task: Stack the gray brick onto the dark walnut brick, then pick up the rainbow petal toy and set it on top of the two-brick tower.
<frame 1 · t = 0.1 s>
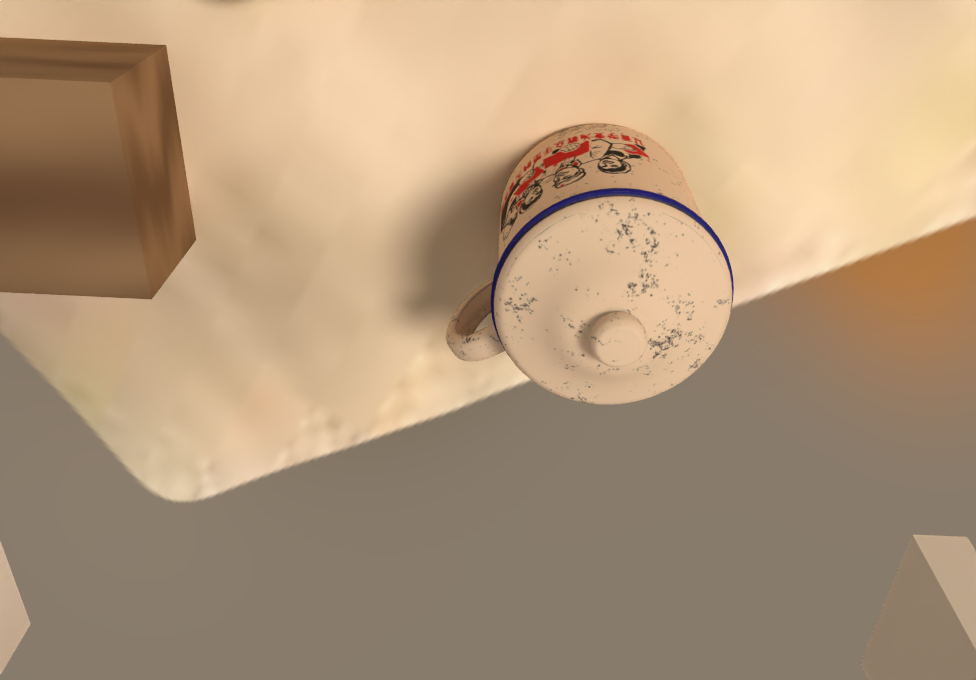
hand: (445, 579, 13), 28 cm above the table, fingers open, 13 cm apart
teacup with lid: (565, 225, 40), on the table
walnut brick: (83, 142, 39), on the table
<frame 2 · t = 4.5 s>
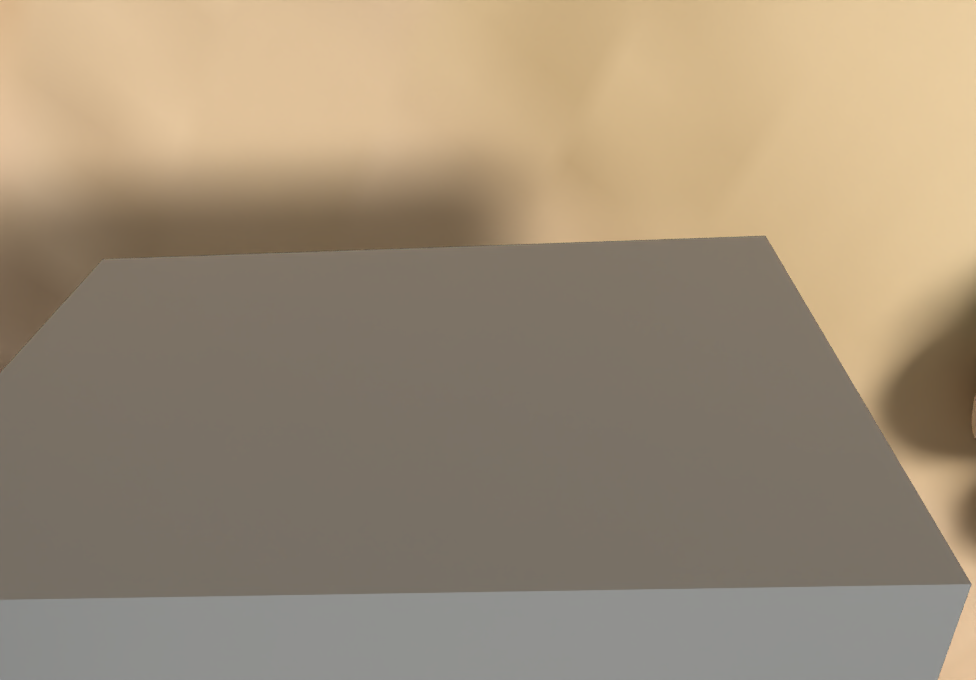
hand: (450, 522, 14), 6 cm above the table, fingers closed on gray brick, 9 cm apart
gray brick: (452, 497, 14), point 5 cm above the table, touching gripper
when the fingers open (6 cm above the table, at t = 8.0 s): gray brick stays where it is, resting on walnut brick.
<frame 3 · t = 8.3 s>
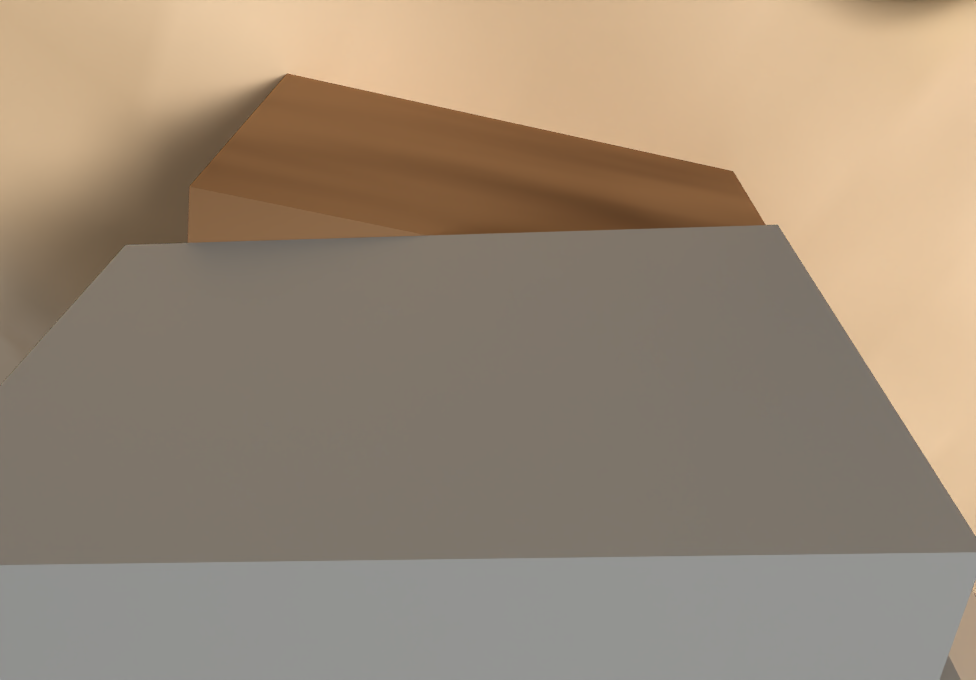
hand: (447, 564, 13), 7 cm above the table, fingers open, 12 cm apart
walnut brick: (470, 312, 19), on the table, touching gray brick
gray brick: (465, 484, 14), point 6 cm above the table, touching walnut brick
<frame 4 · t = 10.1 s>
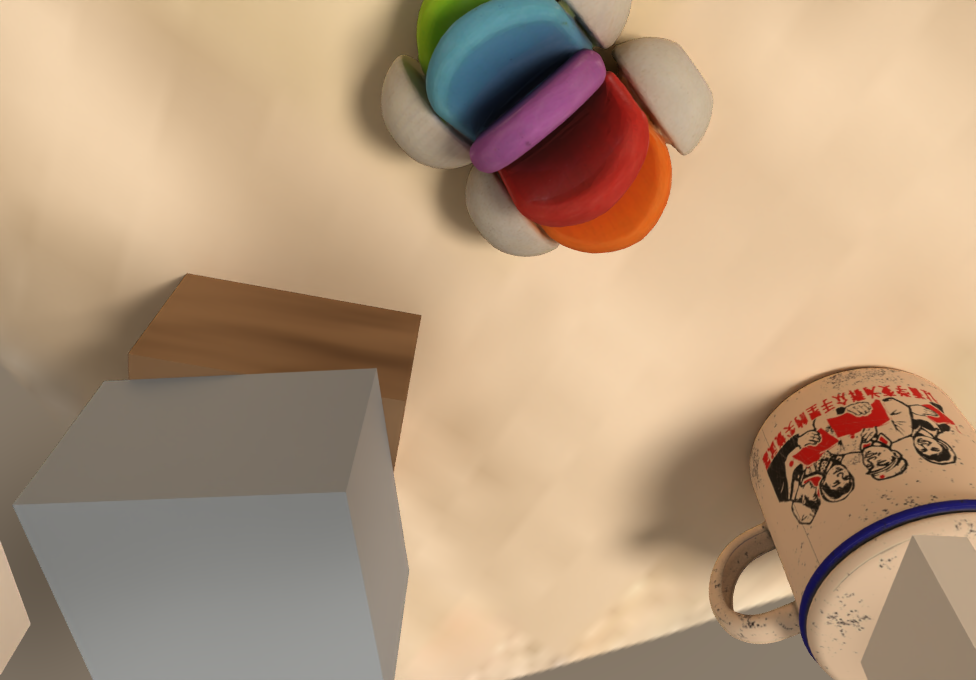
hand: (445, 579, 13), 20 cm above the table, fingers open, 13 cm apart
teacup with lid: (816, 460, 37), on the table
walnut brick: (297, 387, 35), on the table
rainbow petal toy: (542, 84, 29), on the table
gray brick: (266, 482, 30), point 6 cm above the table
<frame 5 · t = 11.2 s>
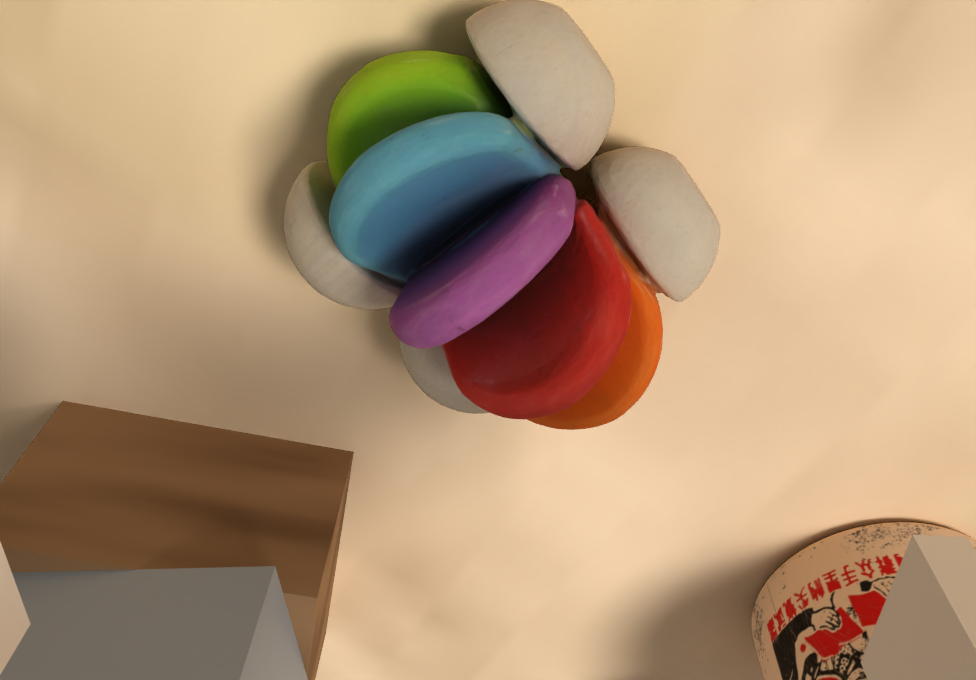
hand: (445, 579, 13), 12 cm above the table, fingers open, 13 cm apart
teacup with lid: (831, 613, 31), on the table
walnut brick: (208, 524, 29), on the table
rainbow petal toy: (501, 190, 22), on the table
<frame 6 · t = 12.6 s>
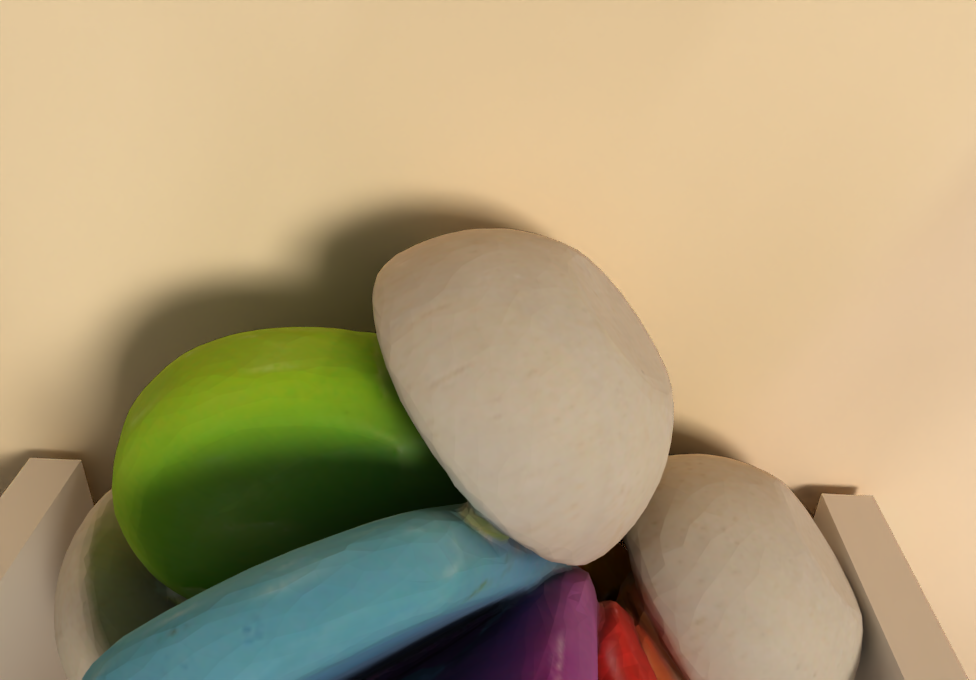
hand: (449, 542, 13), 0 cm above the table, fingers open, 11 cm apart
rainbow petal toy: (464, 485, 13), on the table
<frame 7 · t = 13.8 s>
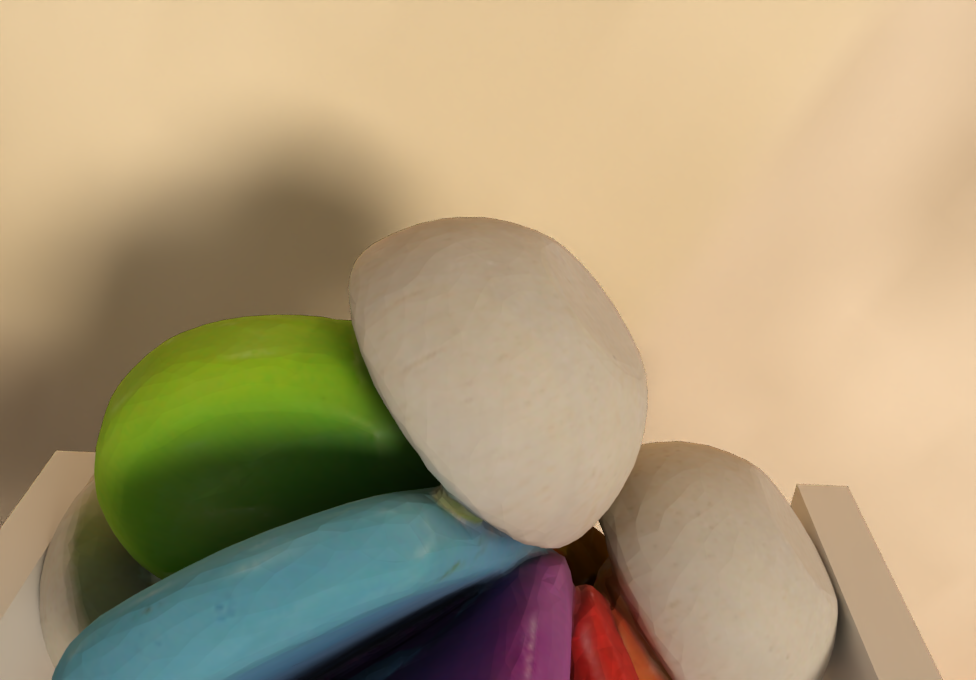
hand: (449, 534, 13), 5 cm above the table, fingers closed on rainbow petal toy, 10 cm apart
rainbow petal toy: (448, 474, 13), point 5 cm above the table, touching gripper
when the fingers open (13 cm above the table, at t = 18.8 s): rainbow petal toy drops 1 cm, resting on gray brick.
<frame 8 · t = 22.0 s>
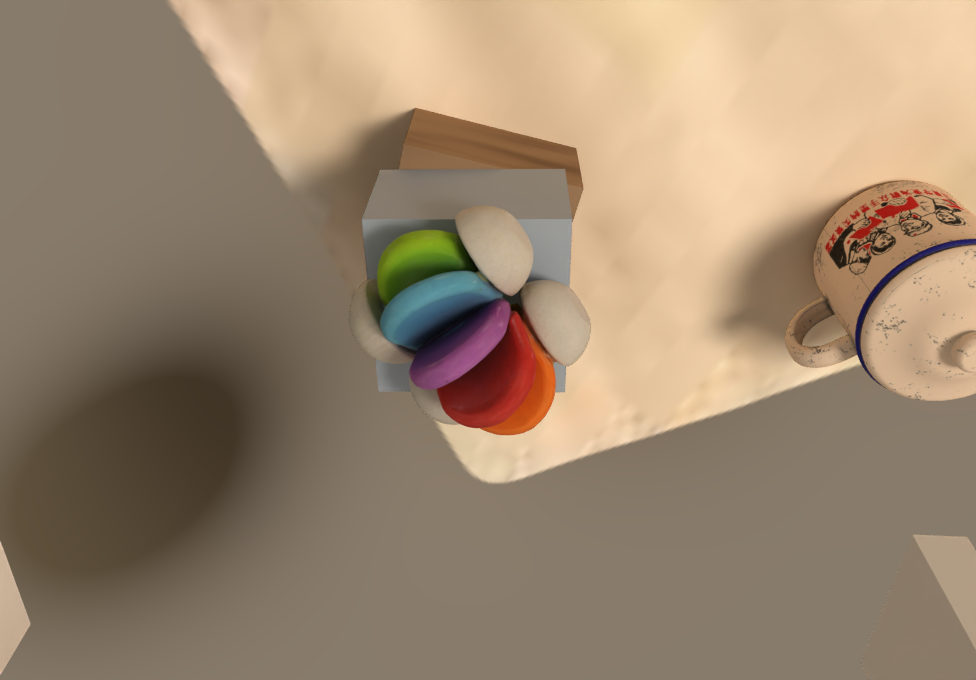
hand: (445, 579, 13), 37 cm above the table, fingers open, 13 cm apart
teacup with lid: (861, 258, 50), on the table
walnut brick: (477, 202, 49), on the table, touching gray brick
rainbow petal toy: (471, 295, 39), point 12 cm above the table, touching gray brick
gray brick: (474, 252, 44), point 6 cm above the table, touching rainbow petal toy, walnut brick
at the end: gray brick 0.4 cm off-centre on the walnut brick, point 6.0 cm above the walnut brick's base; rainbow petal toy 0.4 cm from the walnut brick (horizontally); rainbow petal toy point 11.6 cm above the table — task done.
